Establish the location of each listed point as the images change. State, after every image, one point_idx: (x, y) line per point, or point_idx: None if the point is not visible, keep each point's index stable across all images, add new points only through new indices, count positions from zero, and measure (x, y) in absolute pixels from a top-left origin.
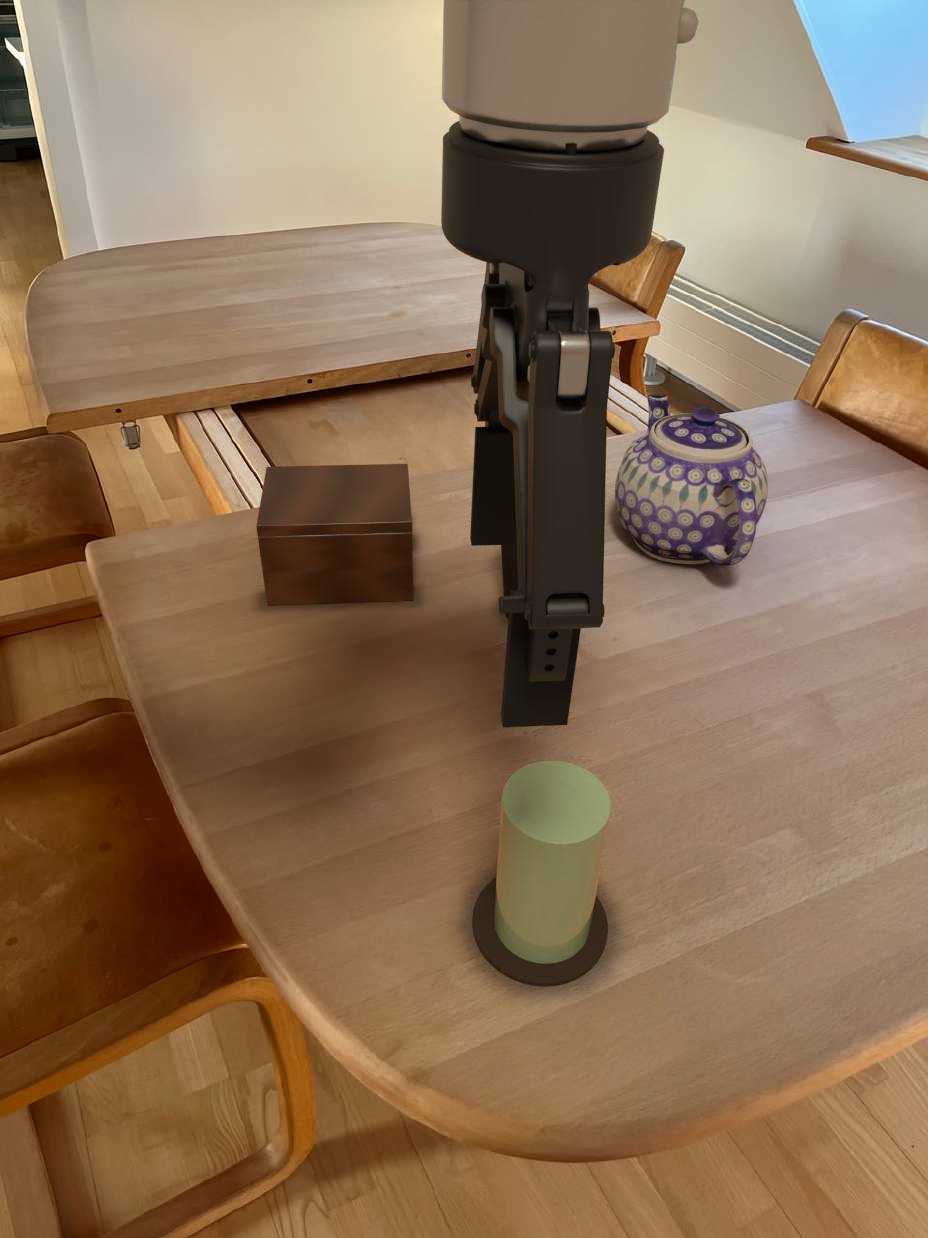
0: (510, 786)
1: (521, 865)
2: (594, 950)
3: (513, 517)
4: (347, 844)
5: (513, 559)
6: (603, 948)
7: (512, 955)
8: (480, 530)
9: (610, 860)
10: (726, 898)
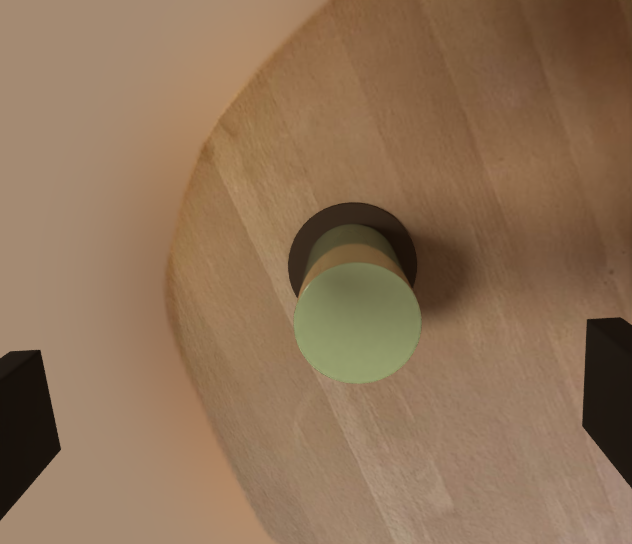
0: (379, 273)
1: (310, 271)
2: None
3: (614, 443)
4: (458, 66)
5: None
6: None
7: (315, 239)
8: (605, 352)
9: (423, 340)
10: (376, 433)
